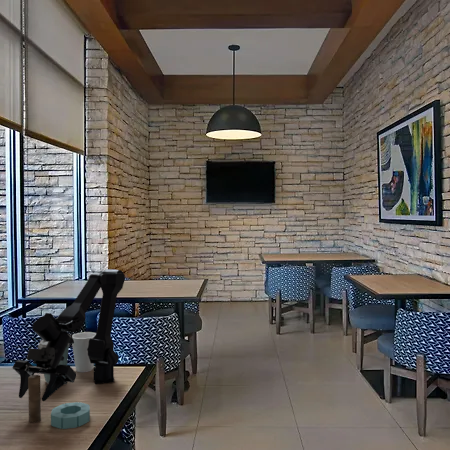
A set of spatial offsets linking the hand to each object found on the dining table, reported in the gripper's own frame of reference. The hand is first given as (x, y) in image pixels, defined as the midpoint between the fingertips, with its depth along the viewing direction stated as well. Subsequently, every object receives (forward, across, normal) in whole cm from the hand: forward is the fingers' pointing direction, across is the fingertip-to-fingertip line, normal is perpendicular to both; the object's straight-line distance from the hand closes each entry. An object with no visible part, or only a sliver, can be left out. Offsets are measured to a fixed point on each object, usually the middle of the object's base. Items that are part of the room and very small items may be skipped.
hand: (31, 399), depth 134 cm
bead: (+2, +10, +8) cm, 13 cm away
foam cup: (-26, -11, +35) cm, 45 cm away
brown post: (+4, 0, +6) cm, 7 cm away
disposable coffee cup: (-16, -14, +26) cm, 33 cm away
